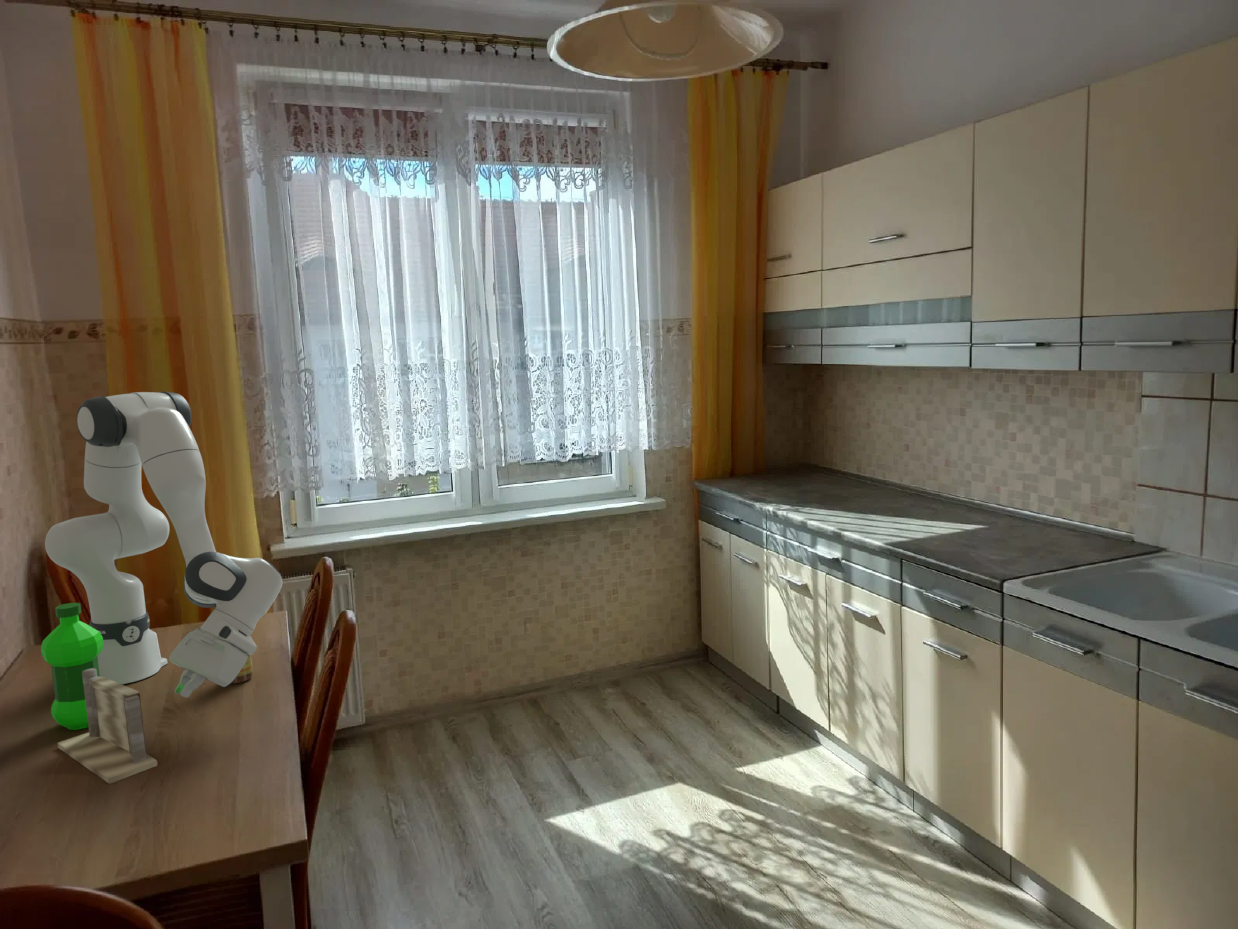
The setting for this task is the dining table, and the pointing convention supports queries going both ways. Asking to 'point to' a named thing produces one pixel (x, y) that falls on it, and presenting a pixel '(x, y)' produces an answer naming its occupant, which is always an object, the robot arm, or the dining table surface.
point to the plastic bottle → (71, 664)
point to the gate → (111, 710)
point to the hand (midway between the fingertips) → (180, 695)
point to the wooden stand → (110, 743)
